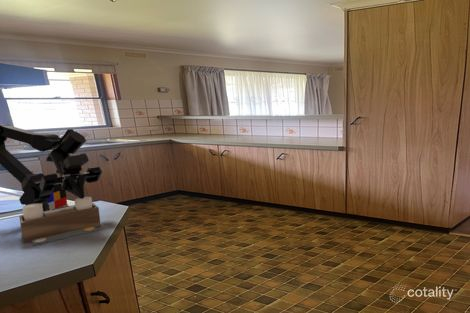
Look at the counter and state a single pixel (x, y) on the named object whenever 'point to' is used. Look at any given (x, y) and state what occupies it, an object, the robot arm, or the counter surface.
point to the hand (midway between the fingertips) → (82, 197)
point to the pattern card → (63, 235)
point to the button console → (59, 222)
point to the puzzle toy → (57, 197)
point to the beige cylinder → (83, 203)
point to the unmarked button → (33, 211)
